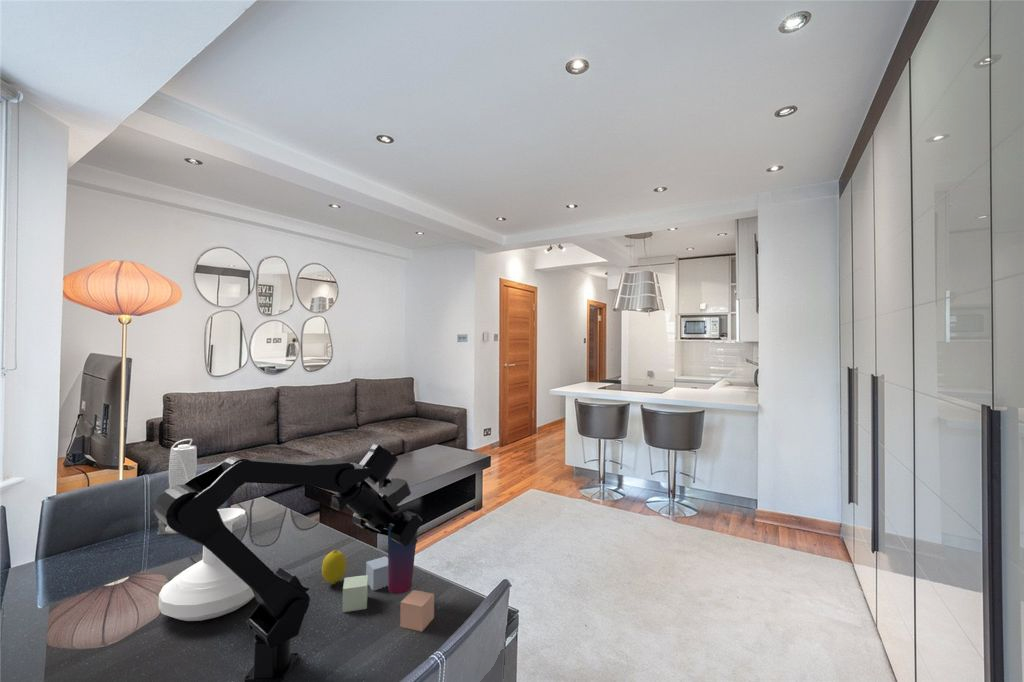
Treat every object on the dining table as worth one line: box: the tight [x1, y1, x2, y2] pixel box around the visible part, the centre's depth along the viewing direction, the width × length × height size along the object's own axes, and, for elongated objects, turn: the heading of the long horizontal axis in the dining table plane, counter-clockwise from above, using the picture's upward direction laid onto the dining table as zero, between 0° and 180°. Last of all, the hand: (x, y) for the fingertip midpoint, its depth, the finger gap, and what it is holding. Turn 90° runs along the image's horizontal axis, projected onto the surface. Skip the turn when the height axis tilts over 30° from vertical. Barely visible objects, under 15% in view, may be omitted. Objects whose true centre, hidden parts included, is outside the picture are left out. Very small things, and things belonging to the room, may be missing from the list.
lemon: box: [321, 549, 347, 585], centre depth 105 cm, size 6×6×8 cm
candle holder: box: [158, 507, 255, 622], centre depth 97 cm, size 20×20×19 cm
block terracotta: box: [399, 589, 435, 633], centre depth 90 cm, size 5×5×5 cm
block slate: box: [365, 555, 388, 592], centre depth 106 cm, size 5×5×5 cm
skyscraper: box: [156, 438, 198, 536], centre depth 139 cm, size 8×8×28 cm
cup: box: [387, 514, 418, 595], centre depth 98 cm, size 7×7×15 cm
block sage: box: [341, 574, 369, 613], centre depth 96 cm, size 5×5×5 cm
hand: (407, 539), depth 99 cm, fingers closed on cup, 6 cm apart
